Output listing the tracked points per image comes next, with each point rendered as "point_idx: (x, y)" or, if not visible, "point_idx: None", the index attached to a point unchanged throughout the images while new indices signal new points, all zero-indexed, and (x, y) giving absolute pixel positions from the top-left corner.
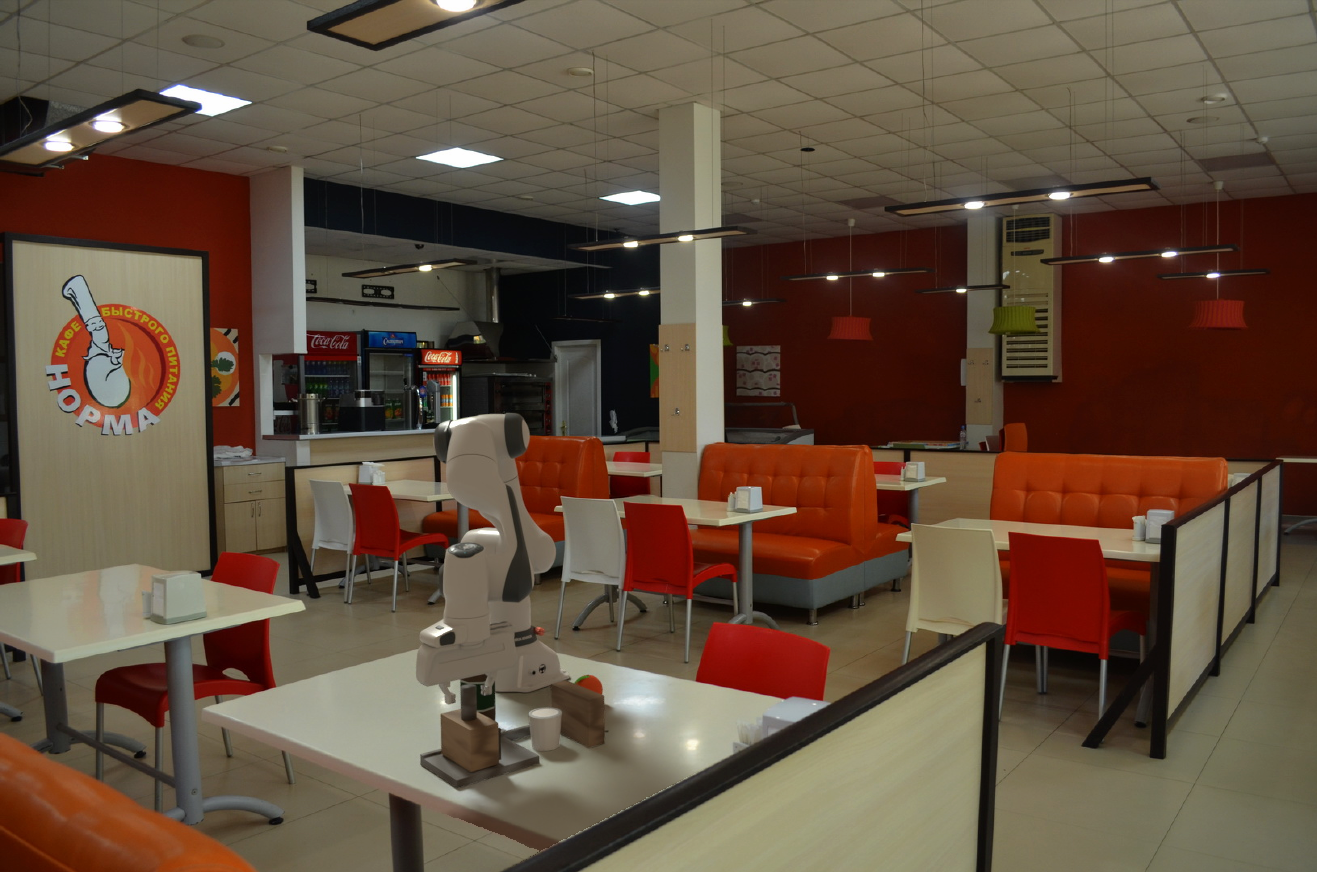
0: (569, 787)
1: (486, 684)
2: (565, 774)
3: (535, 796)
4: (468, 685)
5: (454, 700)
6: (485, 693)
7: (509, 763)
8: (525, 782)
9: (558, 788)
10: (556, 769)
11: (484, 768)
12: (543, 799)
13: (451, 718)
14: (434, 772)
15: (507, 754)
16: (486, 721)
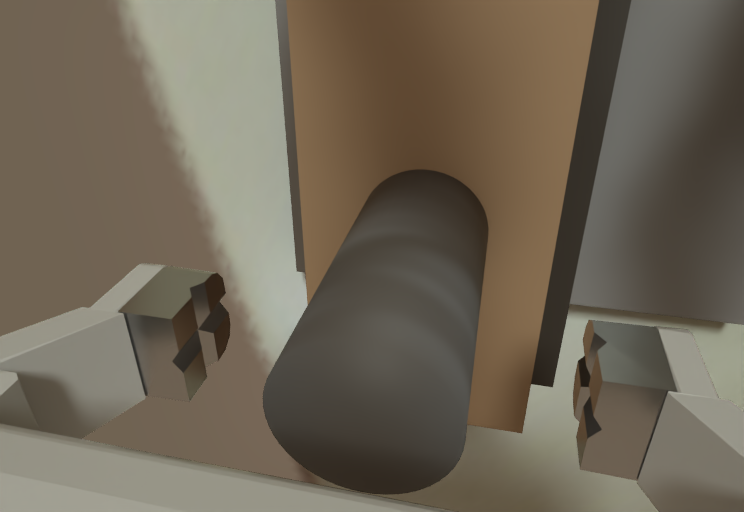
0: (614, 508)
1: (657, 438)
2: None
3: (483, 473)
4: (387, 393)
5: (206, 356)
6: (576, 409)
7: (572, 294)
8: (536, 389)
9: (582, 489)
10: (723, 394)
11: None
12: (487, 499)
13: (311, 133)
14: None
15: (654, 201)
16: (478, 367)
